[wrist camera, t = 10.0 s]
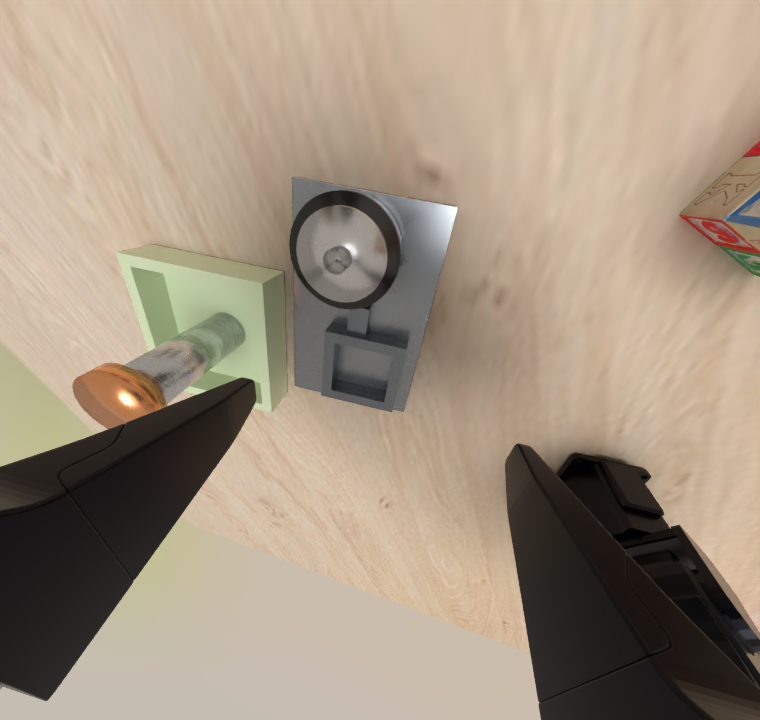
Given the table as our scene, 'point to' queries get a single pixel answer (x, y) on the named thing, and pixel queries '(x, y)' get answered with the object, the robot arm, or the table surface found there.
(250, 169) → the table surface
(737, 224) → the stack of blocks
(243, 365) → the tray
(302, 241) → the tensioner
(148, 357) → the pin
